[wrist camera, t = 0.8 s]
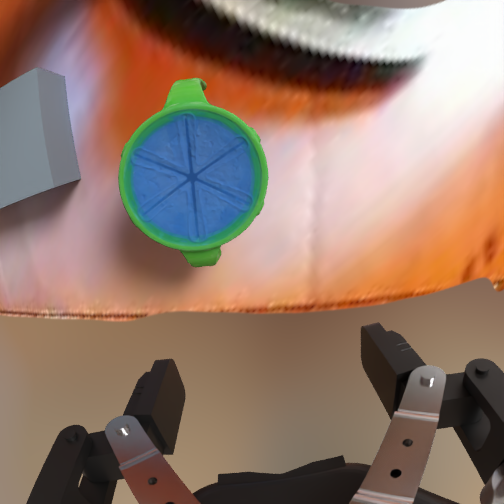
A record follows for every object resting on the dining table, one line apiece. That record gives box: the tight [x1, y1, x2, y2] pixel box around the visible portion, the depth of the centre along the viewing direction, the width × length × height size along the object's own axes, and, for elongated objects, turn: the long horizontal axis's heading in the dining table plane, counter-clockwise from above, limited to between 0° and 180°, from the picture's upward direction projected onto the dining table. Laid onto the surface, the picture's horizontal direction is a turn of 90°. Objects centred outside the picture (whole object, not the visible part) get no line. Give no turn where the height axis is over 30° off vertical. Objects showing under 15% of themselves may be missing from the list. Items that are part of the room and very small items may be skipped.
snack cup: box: [118, 78, 268, 267], centre depth 25 cm, size 16×10×10 cm
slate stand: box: [0, 67, 81, 209], centre depth 24 cm, size 12×14×6 cm
